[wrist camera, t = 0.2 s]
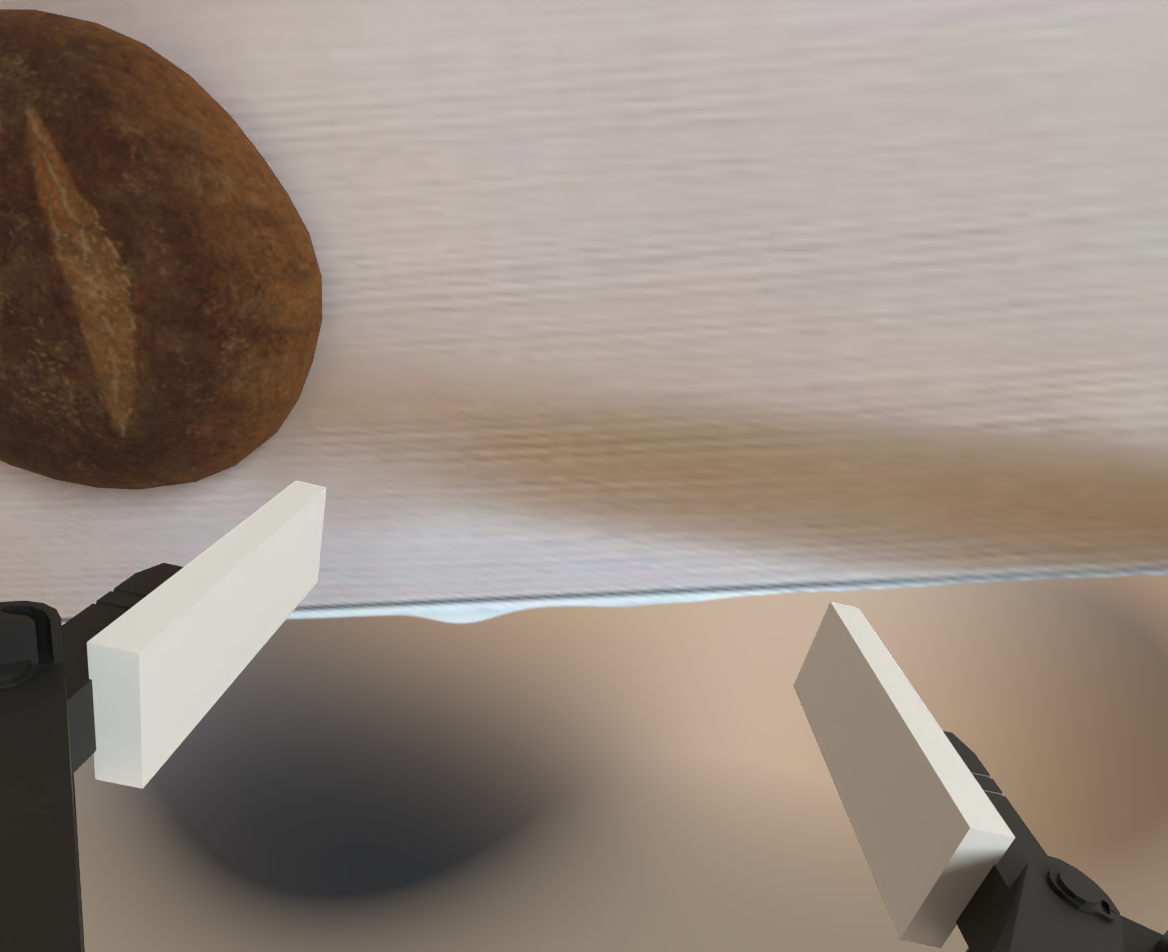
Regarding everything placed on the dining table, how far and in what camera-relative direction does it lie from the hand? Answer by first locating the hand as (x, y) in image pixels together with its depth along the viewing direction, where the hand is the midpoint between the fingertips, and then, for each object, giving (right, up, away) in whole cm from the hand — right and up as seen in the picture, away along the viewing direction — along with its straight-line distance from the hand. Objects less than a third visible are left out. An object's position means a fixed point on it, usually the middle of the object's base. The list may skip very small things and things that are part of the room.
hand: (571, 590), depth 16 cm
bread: (-30, +16, +25) cm, 43 cm away
